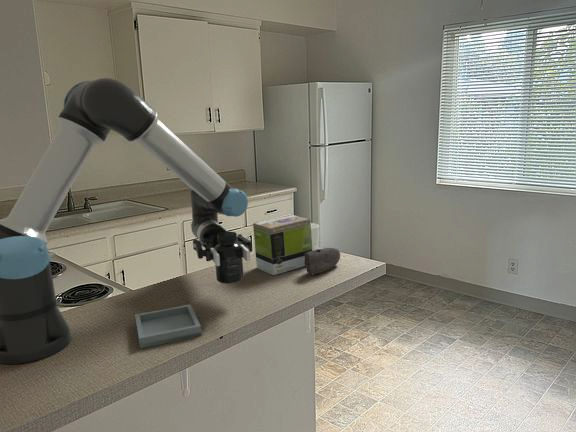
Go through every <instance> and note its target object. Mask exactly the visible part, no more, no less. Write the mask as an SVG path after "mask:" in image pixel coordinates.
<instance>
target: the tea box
mask: <svg viewBox="0 0 576 432" xmlns="http://www.w3.org/2000/svg"><path fill="white" fill-rule="evenodd" d="M311 223H312V222H311V219H309V218H306V217H302V216H298V215H293V214H290V215H289V214H288V215H285V216H281V217H276V218H271V219H267V220H262V221H257V222H253V223H252V227H253V228H252V229H253V238H254V239H253V240H254V252H255V253H254V254H255V262H256V267H257V269H259V270H261V271H263V272H265V273H267V274H269V275H272V276H276V275H279V274H283V273H287V272H290V271H293V270H296V269H301V268H303V267H306V266H305V264H304V263H305V255H304V254H305V253H307V252H310V251H312V238H311Z"/></svg>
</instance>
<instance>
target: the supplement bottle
mask: <svg viewBox="0 0 576 432" xmlns="http://www.w3.org/2000/svg"><path fill="white" fill-rule="evenodd" d="M237 236H238V233H237V232H235V231H227V232H221V233H218V234H217V242H219V243H218V244H217V245H216V246H215V248H214V249H215V250H216V251H217V253H218V254H219V258H220V266H216V264H215V263H214V266H215V275H216V280H217V282H219V283H221V284H226V285H227V284H235V283H239V282H242V281H243V279H244V265H243V264H244V263H243V262H244V261H243V257H242V247H241V245H240V244H239V243H238V242H236V241H237Z"/></svg>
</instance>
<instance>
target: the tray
mask: <svg viewBox="0 0 576 432" xmlns="http://www.w3.org/2000/svg"><path fill="white" fill-rule="evenodd" d="M134 316H135V324H136V331H137V338H138V343H139V348H140V349H145V348H149V347H155V346H158V345H163V344H169V343H175V342H177V341H182V340H187V339H192V338H196V337H197V338H198V337H201V336H203V335H202V325H201V324H200V321H199V320H198V317H197V315H196V313H195V310H194V308H193V306H192V304H185V305H180V306H176V307H169V308H163V309H159V310H153V311H147V312H142V313H137V314H134Z"/></svg>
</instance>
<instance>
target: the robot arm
mask: <svg viewBox="0 0 576 432" xmlns="http://www.w3.org/2000/svg"><path fill="white" fill-rule="evenodd" d="M56 120H57V123H58V126H59V129H58V130H57V132H56V134H55V135H54V137H53V139H52V141H51V143H50V144H49V146H48V148H47V150H46V151H45V153H44V154H43V156H42V158H41V159H40V161H39V163H38V165H37V167H36V168H35V170H34V171H33V173H32V175H31V177H30V178H29V180H28V182H27V183H26V185H25V187H23V190H22V192H21V194H20V196H19V197H18V199H17V201H16V203H15V204H14V206H12V209H11V211H10V212H9V215H8V216H6V217H4V218H1V219H0V364H5V365H18V364H19V365H21V364H26V363H31V362H35V361H37V360H41V359H44V358H47V357H49V356H52V355H53V354H56V353H58V352H60V351H61V350H63V349H64V348H65V347H67V346H68V344H69V343H70V342H71V341H72V340H71V339H72V332H71V329H70V326H69V324H68V322H67V320H66V319H65V317H64V315H63V314H62V312H61V310H60V308H59V307H58V304H57V297H56V292H55V290H56V289H55V285H54V279H53V273H52V267H51V261H50V259H51V256H50V252H49V250H48V246H47V245H48V239H47V236H46V231H48V228H49V226H50V225H51V224H52V221H53V220H54V218H55V216H56V214H57V212H58V210H59V209H60V208H61V206H62V204H63V201H64V200H65V198H66V197H67V195H68V194H69V191H70V189H71V187H72V185H73V184H74V182H75V181H76V179H77V177H78V175H79V174H80V172H81V170H82V169H83V166H84V164H85V163H86V162H87V159H88V158H89V156H90V154H91V152H92V151H93V149H94V148H95V147H96V146H100V145H103V144H104V143H105V141H106V139H107V137H108V135H109V134H110V132H111V131H113V132H115V133H117V134H119V135H120V136H122V137H123V138H125V139H126V140H127V141H128V142H129V143H135V142H136V143H137V144H138V145H139V146H140V147H142V148H143V149H144V150H145V151H146V152H147V153H149V155H151V156H153V157H154V158H155V159H156V160H157V161H158V162H159V163H160V164H162V165H163V166H164V167H165V168H167V169H168V170H169V171H170V172H171V173H172V174H174V175H175V176H176V177H177V178H178V179H179V180H181V181H182V182H183V183H184V184H186V185H187V187H189V189H190V190H189V193H190V202H191V203H190V204H191V213H192V216H191V217H192V221H191V223H190V224H191V225H190V228H191V232H192V233H193V235H194V237H195V238H196V239H193V240H192V246H193V250H194V251H196V255H197V259H201V260H202V259H204V257H205V262H211V260H212V262H213V263H214V265H215V264H216V266H220V258H219V254H218V253H217V251H216V250H215V249H214V248H215V246H216V245H217V244H218V243H219V242H217V234H218V233H221V232H228V231H227V229H225V228H224V227H223V226H222V225H220V223H219V217H218V215H219V214H220V215H224V216H227V217H236V218H237V217H240V216H242V215H243V214H244V213H245V212H246V211H247V209H248V205H249V199H248V196H247V194H246V193H245V192H244V191H243V190H240V189H238V188H233V187H232V186H231V185H230V184H229V183H228V182H227V181H226V180H224V178H222V177H221V176H220V174H218V173H217V172H216V171H215V170H213V169H212V168H211V167H210V166H209V165H208V164H207V163H206V161H204V160H203V159H202V158H201V157H200V156H198V155H197V154H196V152H194V151H193V150H192V149H191V148H190V147H189V146H188V145H186V143H185V142H183V141H182V140H181V139H180V138H179V137H178V136H177V135H176V134H175V133H173V131H172V130H171V129H169V128H168V127H167V126H166V125H165V124H164V123H163V122H162V121H161V120H160V119H159V118H158V112H157V110H155V108H153V107H152V106H151V105H150V104H149V103H148V102H146V101H145V99H143V98H142V97H141V96H140V95H139V94H138V93H137V92H136V91H135V90H133V89H132V88H130V87H129V86H128V85H126V84H125V83H123V82H122V81H119V80H117V79H114V78H111V77H110V78H107V77H102V78H97V79H93V80H84V81H81V82H79V83H76V84H75V85H74V86H72V87H71V88H70V89H69V90H68V91H67V92H66V94H65V96H64V99H63V108H62V110H61V111H60V112H59V115H58V117H57V119H56ZM236 242H238V243H239V244H240V245H241V247H242V259H244V260H245V261H246V262H251V252H253V241H251V240H249V239H247V238H245V237H244V236H243V234H241V233H239V234H238V233H237V241H236ZM203 248H204V249H203ZM216 266H215V267H216Z"/></svg>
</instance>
